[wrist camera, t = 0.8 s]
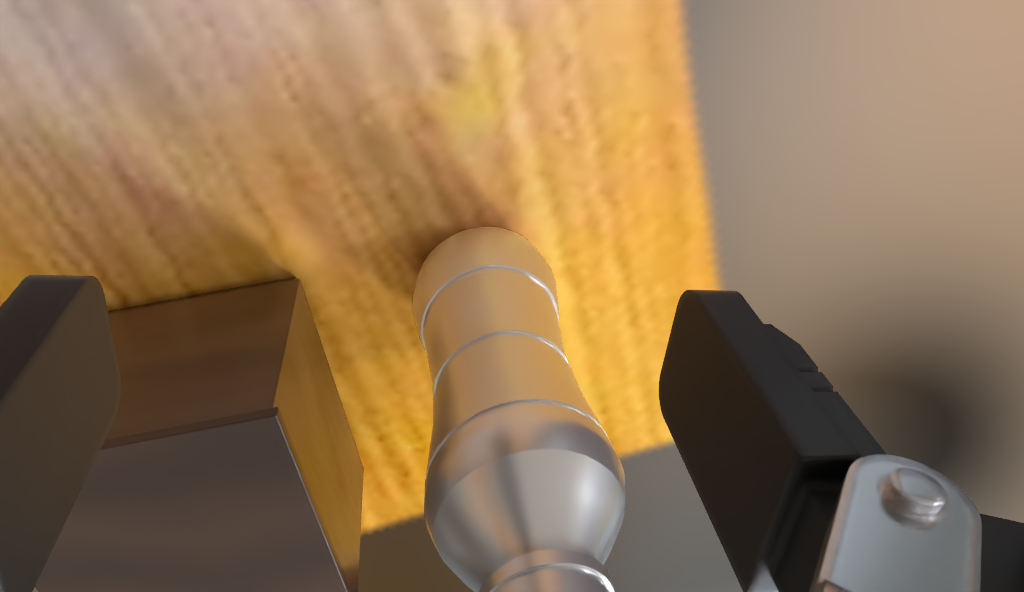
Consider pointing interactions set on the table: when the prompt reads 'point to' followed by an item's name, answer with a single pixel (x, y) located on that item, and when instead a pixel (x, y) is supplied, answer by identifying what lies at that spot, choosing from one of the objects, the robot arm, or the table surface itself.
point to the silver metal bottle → (511, 425)
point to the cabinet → (218, 456)
